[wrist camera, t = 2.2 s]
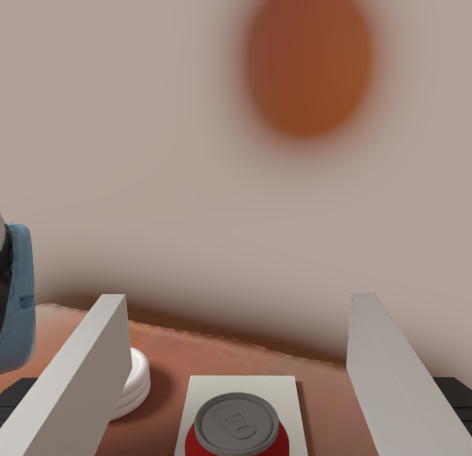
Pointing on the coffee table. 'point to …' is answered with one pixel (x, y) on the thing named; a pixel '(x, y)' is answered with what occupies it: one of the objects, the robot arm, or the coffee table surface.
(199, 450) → the beverage can
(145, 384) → the coaster
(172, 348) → the coffee table surface
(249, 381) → the mat
